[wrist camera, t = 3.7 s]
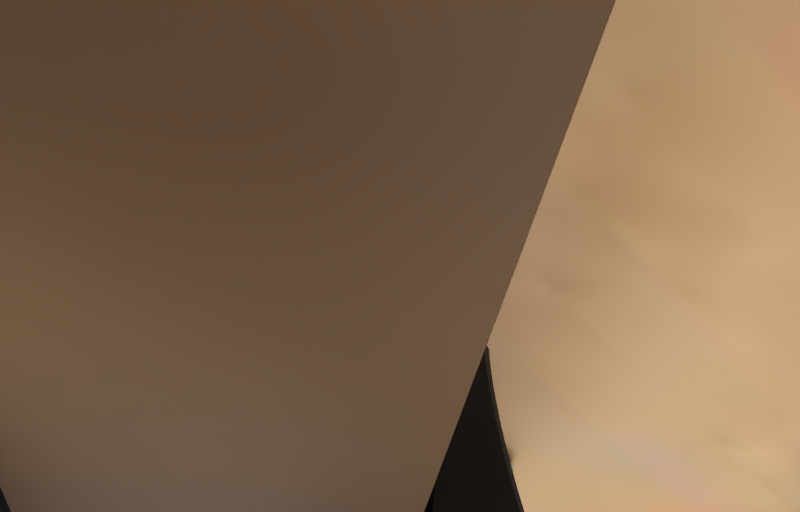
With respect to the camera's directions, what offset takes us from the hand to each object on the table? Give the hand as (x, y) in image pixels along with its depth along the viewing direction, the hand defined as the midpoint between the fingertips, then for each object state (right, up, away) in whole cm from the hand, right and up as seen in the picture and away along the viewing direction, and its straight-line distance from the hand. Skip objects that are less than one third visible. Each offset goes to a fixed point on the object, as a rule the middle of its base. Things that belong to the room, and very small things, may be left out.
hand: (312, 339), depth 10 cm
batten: (0, +1, +1) cm, 2 cm away
